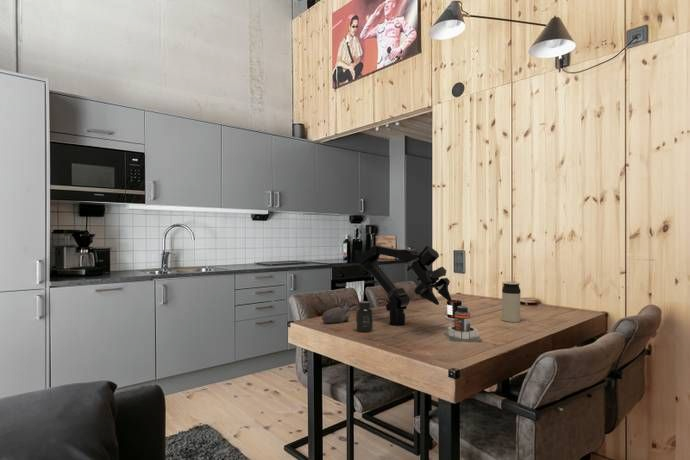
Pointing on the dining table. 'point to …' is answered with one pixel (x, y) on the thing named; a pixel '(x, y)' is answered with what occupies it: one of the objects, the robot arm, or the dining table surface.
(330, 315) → the perforated stone tool
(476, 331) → the collar
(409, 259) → the robot arm
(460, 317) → the supplement bottle
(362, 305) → the supplement bottle
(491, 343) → the dining table surface
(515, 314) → the travel mug
